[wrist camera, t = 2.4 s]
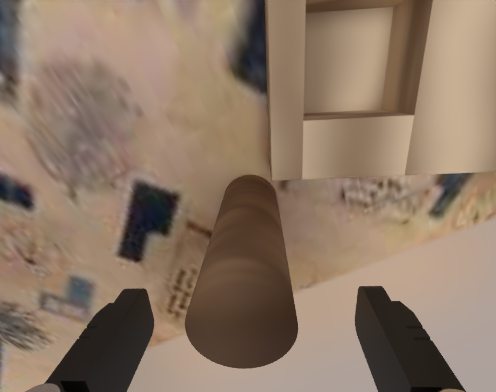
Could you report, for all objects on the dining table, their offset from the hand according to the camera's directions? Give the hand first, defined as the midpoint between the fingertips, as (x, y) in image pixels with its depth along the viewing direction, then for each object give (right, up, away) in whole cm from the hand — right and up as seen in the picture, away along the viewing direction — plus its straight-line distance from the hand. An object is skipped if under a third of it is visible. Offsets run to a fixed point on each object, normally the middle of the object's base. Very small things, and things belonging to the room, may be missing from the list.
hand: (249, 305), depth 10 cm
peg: (0, +4, +10) cm, 11 cm away
